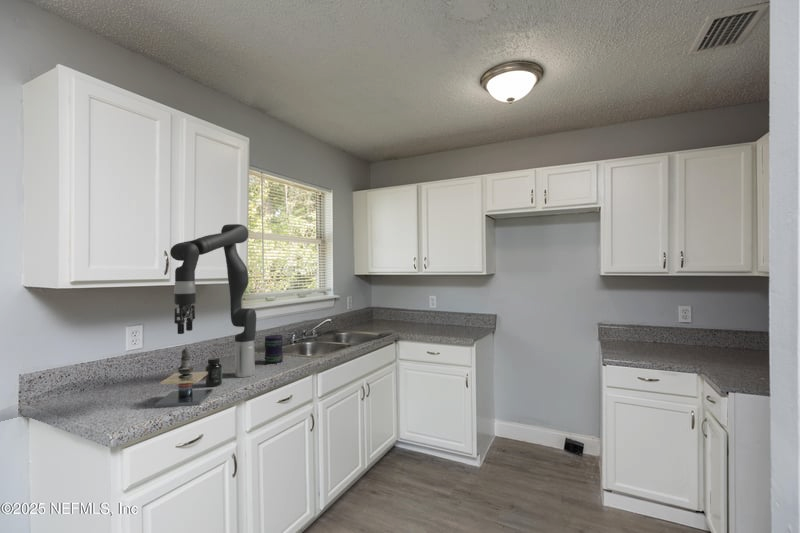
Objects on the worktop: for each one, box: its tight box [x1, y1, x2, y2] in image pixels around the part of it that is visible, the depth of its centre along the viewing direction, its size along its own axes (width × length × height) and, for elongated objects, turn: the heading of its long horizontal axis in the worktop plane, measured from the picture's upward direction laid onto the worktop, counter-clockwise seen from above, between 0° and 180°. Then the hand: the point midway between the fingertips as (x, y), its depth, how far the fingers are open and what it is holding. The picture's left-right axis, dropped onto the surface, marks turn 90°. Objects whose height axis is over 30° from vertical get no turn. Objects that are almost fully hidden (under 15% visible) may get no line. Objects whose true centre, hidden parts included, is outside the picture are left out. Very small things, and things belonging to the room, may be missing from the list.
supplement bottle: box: [204, 357, 223, 388], centre depth 174 cm, size 7×7×12 cm
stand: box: [154, 371, 214, 408], centre depth 154 cm, size 16×16×9 cm
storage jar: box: [264, 334, 284, 365], centre depth 216 cm, size 10×10×15 cm
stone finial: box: [176, 346, 195, 378], centre depth 155 cm, size 6×6×12 cm
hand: (185, 332), depth 155 cm, fingers open, 8 cm apart
